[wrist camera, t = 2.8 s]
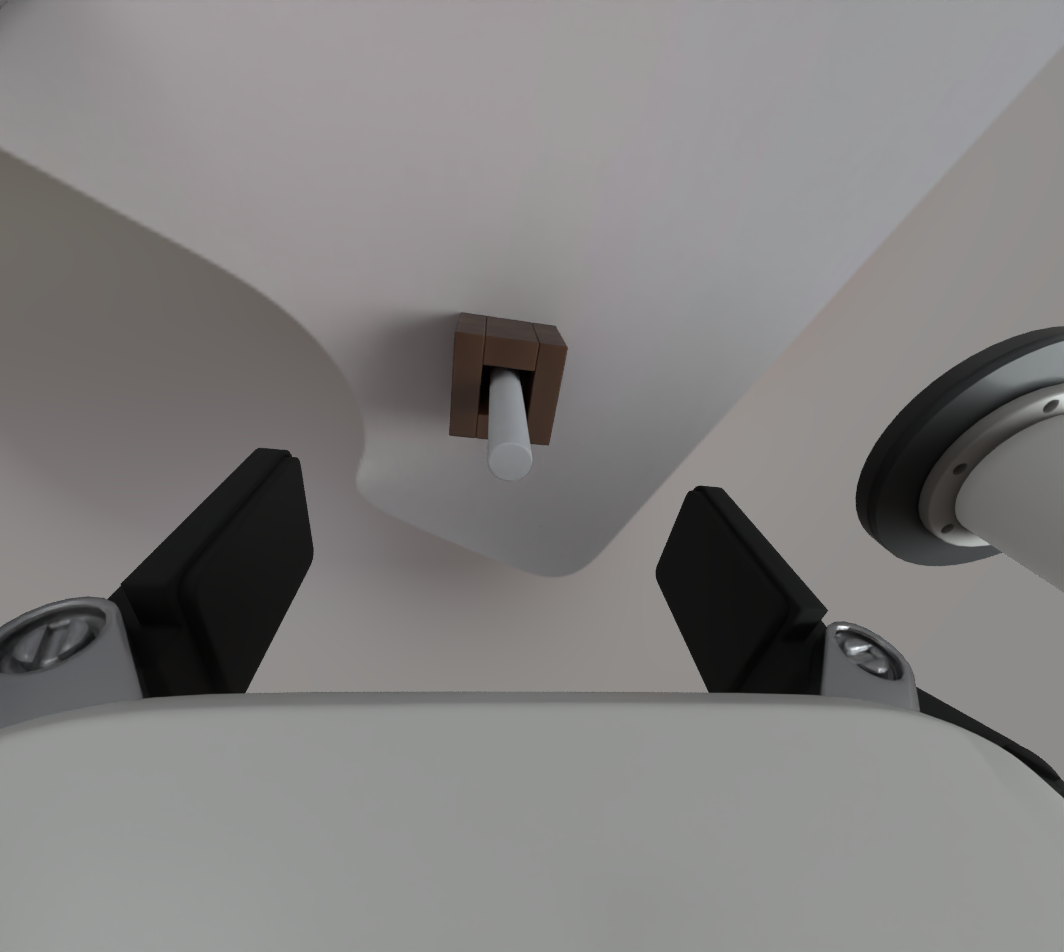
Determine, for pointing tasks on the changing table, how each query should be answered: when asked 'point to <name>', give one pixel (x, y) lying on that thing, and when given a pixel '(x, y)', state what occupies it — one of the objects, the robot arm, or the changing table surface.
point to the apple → (3, 3)
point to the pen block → (506, 348)
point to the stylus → (507, 426)
